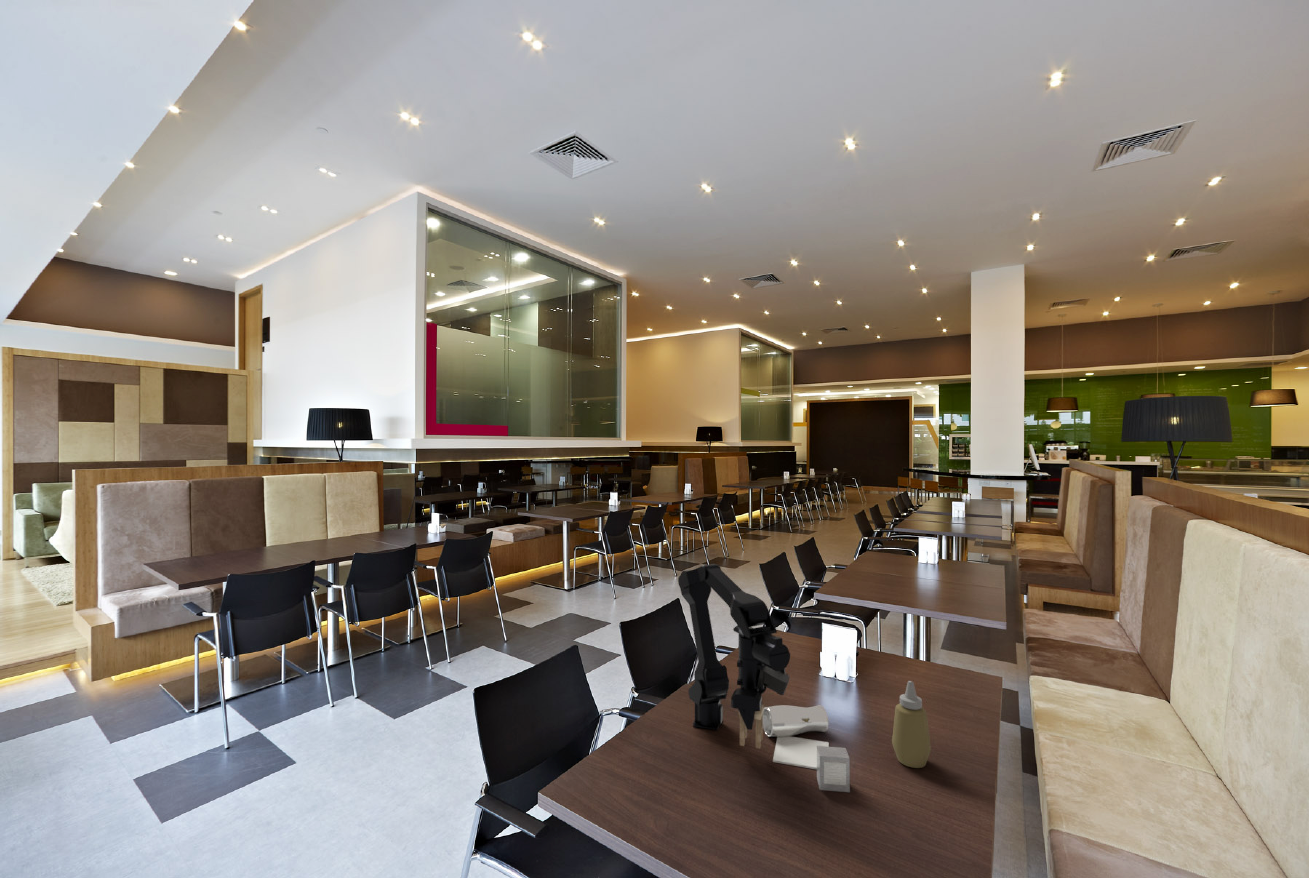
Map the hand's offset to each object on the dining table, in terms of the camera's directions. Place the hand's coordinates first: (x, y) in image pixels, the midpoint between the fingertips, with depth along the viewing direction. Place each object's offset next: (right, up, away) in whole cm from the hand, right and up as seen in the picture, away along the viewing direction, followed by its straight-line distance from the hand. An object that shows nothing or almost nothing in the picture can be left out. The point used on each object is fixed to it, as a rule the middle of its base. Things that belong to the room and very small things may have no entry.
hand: (751, 724), depth 127 cm
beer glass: (+21, -5, +13) cm, 25 cm away
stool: (0, -4, 0) cm, 4 cm away
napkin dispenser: (+16, -8, -10) cm, 20 cm away
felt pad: (+12, -8, +2) cm, 15 cm away
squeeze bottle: (+36, -8, -1) cm, 37 cm away
